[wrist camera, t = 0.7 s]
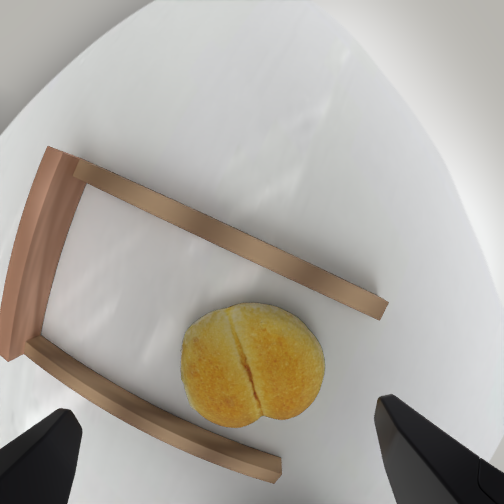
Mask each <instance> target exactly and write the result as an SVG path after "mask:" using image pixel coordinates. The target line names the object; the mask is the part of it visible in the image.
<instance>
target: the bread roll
mask: <svg viewBox="0 0 504 504" xmlns="http://www.w3.org/2000/svg"><path fill="white" fill-rule="evenodd" d="M181 353H182V355H181V380H182V381H183V383H184V388H185V391H186V395H187V397H188V401H189V404H190V406H191V407H192V409H194V410H196V411H197V412H198V413H199V414H200V415H202V416H203V417H204V418H205V419H207V420H209V421H211V422H212V423H215V424H218V425H220V426H224V427H231V428H240V427H243V426H247V425H249V424H251V423H253V422H255V421H256V420H258V419H259V418H260V417H261V416H266V417H269V418H273V419H278V420H285V419H289V418H292V417H295V416H297V415H299V414H300V413H302V412H303V411H304V410H306V409H307V408H308V407H309V406H310V405H311V404H312V402H313V401H314V400H315V398H316V396H317V394H318V393H319V391H320V387H321V384H322V380H323V376H324V371H325V359H324V355H323V351H322V348H321V345H320V344H319V342H318V340H317V339H316V338H315V336H314V335H313V334H312V332H311V331H310V330H309V329H308V328H307V327H306V325H305V324H304V323H303V322H302V321H300V320H299V318H298V317H296V316H294V315H293V314H291V313H289V312H288V311H285V310H283V309H281V308H279V307H276V306H272V305H267V304H260V303H240V304H237V305H234V306H230V307H228V308H223V309H219V310H215V311H212V312H210V313H208V314H206V315H205V316H203V317H201V318H200V319H198V320H197V321H196V322H195V323H193V324H192V325H191V326H190V327H189V328H188V330H187V331H186V332H185V335H184V338H183V344H182V349H181Z"/></svg>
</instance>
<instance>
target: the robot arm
mask: <svg viewBox="0 0 504 504" xmlns="http://www.w3.org/2000/svg"><path fill="white" fill-rule="evenodd" d="M374 422H375V427H376V431H377V436H378V440H379V444H380V449H381V454H382V458H383V463H384V467H385V470H386V473H387V476H388V479H389V482H390V485H391V488H392V491H393V494H394V497H395V499H396V502H397V504H504V473H503V472H501V471H500V470H498V469H497V468H495V467H494V466H492V465H491V464H489V463H488V462H486V461H485V460H483V459H482V458H480V459H479V456H478V455H476V454H475V453H473V452H472V451H470V450H469V449H468V448H466V447H465V446H463V445H462V444H461V443H459V442H458V441H456V440H455V439H454V438H452V437H451V436H449V435H448V434H447V433H445V432H444V431H443V430H441V429H440V428H438V427H437V426H436V425H434V424H433V423H432V422H430V421H429V420H427V419H426V418H425V417H423V416H422V415H421V414H419V413H418V412H417V411H415V410H414V409H412V408H411V407H410V406H408V405H407V404H406V403H404V402H403V401H402V400H400V399H399V398H398V397H396V396H395V395H393V394H389V395H385V396H381V397H379V398H378V400H377V405H376V410H375V415H374ZM81 438H82V427H81V425H80V424H79V422H78V420H77V419H76V417H75V415H74V414H73V412H72V411H71V410H69V409H63V408H59V409H57V410H56V411H54V412H53V413H51V414H50V415H49V416H47V417H46V418H44V419H43V420H41V421H40V422H39V423H37V424H36V425H34V426H33V427H31V428H30V429H29V430H27V431H26V432H24V433H23V434H21V435H20V436H18V437H17V438H16V439H14V440H13V441H11V442H10V443H8V444H7V445H5V446H4V447H2V448H1V449H0V504H67V503H68V499H69V495H70V491H71V487H72V483H73V480H74V476H75V472H76V466H77V460H78V455H79V449H80V443H81Z"/></svg>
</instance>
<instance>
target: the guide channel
mask: <svg viewBox="0 0 504 504" xmlns="http://www.w3.org/2000/svg"><path fill="white" fill-rule="evenodd" d="M86 183H88V184H90V185H92V186H94V187H96V188H98V189H100V190H102V191H105V192H107V193H109V194H111V195H113V196H115V197H117V198H119V199H121V200H123V201H125V202H127V203H130V204H132V205H134V206H136V207H138V208H140V209H142V210H144V211H146V212H148V213H150V214H153V215H155V216H157V217H159V218H161V219H163V220H165V221H167V222H169V223H172V224H174V225H176V226H178V227H180V228H182V229H184V230H186V231H188V232H190V233H193V234H195V235H197V236H199V237H201V238H203V239H205V240H207V241H210V242H212V243H214V244H216V245H218V246H220V247H222V248H224V249H227V250H229V251H231V252H233V253H235V254H237V255H239V256H241V257H244V258H246V259H248V260H250V261H252V262H254V263H256V264H258V265H261V266H263V267H265V268H267V269H269V270H271V271H273V272H276V273H278V274H280V275H282V276H284V277H286V278H289V279H291V280H293V281H295V282H297V283H299V284H301V285H304V286H306V287H308V288H310V289H312V290H314V291H317V292H319V293H321V294H323V295H325V296H327V297H329V298H332V299H334V300H336V301H338V302H340V303H342V304H345V305H347V306H349V307H351V308H353V309H356V310H358V311H360V312H362V313H364V314H366V315H369V316H371V317H373V318H375V319H377V320H379V321H380V319H381V317H382V315H383V313H384V311H385V309H386V307H387V305H388V303H389V302H387V301H386V300H384V299H382V298H381V297H379V296H377V295H375V294H373V293H371V292H369V291H367V290H365V289H363V288H361V287H359V286H356V285H354V284H352V283H350V282H348V281H346V280H344V279H342V278H340V277H338V276H336V275H334V274H331V273H329V272H327V271H325V270H323V269H321V268H319V267H317V266H315V265H313V264H310V263H308V262H306V261H304V260H302V259H300V258H298V257H296V256H294V255H291V254H289V253H287V252H285V251H283V250H281V249H279V248H277V247H274V246H272V245H270V244H268V243H266V242H264V241H262V240H259V239H257V238H255V237H253V236H251V235H249V234H247V233H244V232H242V231H240V230H238V229H236V228H234V227H232V226H229V225H227V224H225V223H223V222H221V221H219V220H216V219H214V218H212V217H210V216H208V215H206V214H203V213H201V212H199V211H197V210H195V209H192V208H190V207H188V206H186V205H184V204H182V203H179V202H177V201H175V200H173V199H171V198H168V197H166V196H164V195H162V194H160V193H157V192H155V191H153V190H151V189H149V188H146V187H144V186H142V185H140V184H137V183H135V182H133V181H131V180H129V179H126V178H124V177H122V176H120V175H117V174H115V173H113V172H111V171H108V170H106V169H104V168H102V167H99V166H97V165H95V164H93V163H90V162H88V161H86V160H84V159H81V158H79V157H76V156H74V155H71V154H68V153H66V152H63V151H60V150H58V149H55V148H52V147H49V146H47V148H46V151H45V153H44V156H43V158H42V160H41V163H40V165H39V168H38V171H37V173H36V176H35V179H34V181H33V184H32V187H31V190H30V192H29V195H28V198H27V201H26V204H25V207H24V211H23V214H22V217H21V220H20V224H19V227H18V231H17V234H16V238H15V242H14V245H13V249H12V253H11V258H10V262H9V266H8V271H7V276H6V280H5V286H4V291H3V297H2V302H1V309H0V355H1V356H2V357H3V358H4V359H5V360H6V361H8V362H9V361H11V360H13V359H15V358H17V357H19V356H21V355H23V354H24V355H26V356H27V357H28V358H30V359H31V360H32V361H33V362H35V363H36V364H37V365H39V366H40V367H41V368H43V369H44V370H45V371H47V372H48V373H49V374H51V375H52V376H53V377H55V378H56V379H58V380H59V381H60V382H62V383H63V384H65V385H66V386H68V387H69V388H71V389H72V390H74V391H75V392H77V393H78V394H80V395H81V396H83V397H84V398H86V399H87V400H89V401H91V402H92V403H94V404H95V405H97V406H99V407H100V408H102V409H104V410H105V411H107V412H109V413H110V414H112V415H114V416H116V417H117V418H119V419H121V420H123V421H124V422H126V423H128V424H130V425H132V426H134V427H136V428H137V429H139V430H141V431H143V432H145V433H147V434H149V435H151V436H153V437H155V438H157V439H159V440H161V441H163V442H165V443H167V444H170V445H172V446H174V447H176V448H178V449H181V450H183V451H185V452H187V453H190V454H192V455H194V456H197V457H199V458H202V459H204V460H206V461H209V462H211V463H214V464H217V465H219V466H222V467H225V468H227V469H230V470H233V471H236V472H238V473H241V474H244V475H247V476H250V477H253V478H256V479H260V480H263V481H266V482H270V483H273V484H274V483H275V482H276V481H277V480H278V478H279V477H280V476H281V475H282V465H281V458H280V457H277V456H274V455H271V454H268V453H265V452H262V451H259V450H256V449H254V448H251V447H248V446H245V445H243V444H240V443H237V442H235V441H232V440H230V439H227V438H224V437H222V436H220V435H217V434H215V433H212V432H210V431H208V430H205V429H203V428H201V427H198V426H196V425H194V424H192V423H189V422H187V421H185V420H183V419H181V418H179V417H176V416H174V415H172V414H170V413H168V412H166V411H164V410H162V409H160V408H158V407H156V406H154V405H152V404H150V403H148V402H147V401H145V400H143V399H141V398H139V397H137V396H135V395H133V394H132V393H130V392H128V391H126V390H125V389H123V388H121V387H119V386H118V385H116V384H114V383H112V382H111V381H109V380H107V379H106V378H104V377H102V376H101V375H99V374H97V373H96V372H94V371H93V370H91V369H89V368H88V367H86V366H85V365H83V364H82V363H80V362H79V361H77V360H76V359H74V358H73V357H71V356H70V355H68V354H67V353H65V352H64V351H62V350H61V349H59V348H58V347H57V346H55V345H54V344H52V343H51V342H50V341H48V340H47V339H45V338H44V337H43V336H41V335H40V334H41V329H42V324H43V319H44V315H45V311H46V306H47V302H48V298H49V294H50V290H51V286H52V283H53V279H54V275H55V272H56V268H57V265H58V262H59V258H60V255H61V252H62V249H63V245H64V242H65V239H66V236H67V233H68V230H69V227H70V225H71V222H72V219H73V216H74V213H75V211H76V208H77V205H78V203H79V200H80V198H81V195H82V193H83V190H84V188H85V185H86Z"/></svg>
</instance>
